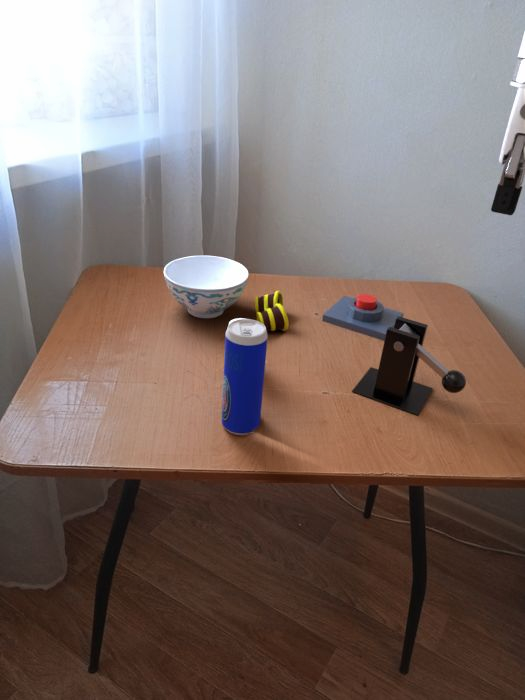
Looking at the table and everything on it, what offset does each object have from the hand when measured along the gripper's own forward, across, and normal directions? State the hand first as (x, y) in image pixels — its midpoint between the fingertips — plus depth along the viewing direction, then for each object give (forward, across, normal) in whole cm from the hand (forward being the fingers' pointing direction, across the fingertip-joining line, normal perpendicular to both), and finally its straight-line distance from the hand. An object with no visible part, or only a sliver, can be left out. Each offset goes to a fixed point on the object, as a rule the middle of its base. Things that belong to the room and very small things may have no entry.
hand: (502, 212), depth 84 cm
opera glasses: (+25, -10, +32) cm, 42 cm away
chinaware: (+25, -13, +44) cm, 52 cm away
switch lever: (+19, -19, +3) cm, 27 cm away
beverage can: (+25, -38, +21) cm, 50 cm away
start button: (+21, 0, +18) cm, 28 cm away
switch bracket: (+25, -19, +6) cm, 32 cm away
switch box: (+25, 0, +18) cm, 31 cm away
